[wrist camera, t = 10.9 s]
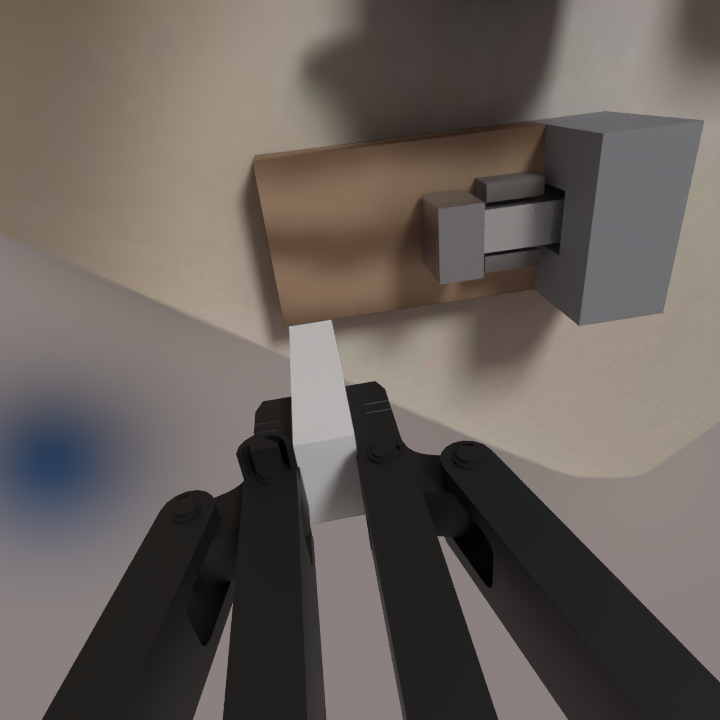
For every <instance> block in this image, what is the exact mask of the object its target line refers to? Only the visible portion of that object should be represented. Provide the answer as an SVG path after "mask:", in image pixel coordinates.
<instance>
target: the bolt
mask: <svg viewBox="0 0 720 720" xmlns="http://www.w3.org/2000/svg"><path fill="white" fill-rule="evenodd" d="M421 200H422V225H423V250H424V264H425V266H426V267H427V268H428V270H429V271H430V272H431V273H432V275H433V276H434V277H435V279H436V280H437V281H438V282H439V284H447V283H453V282H460V281H467V280H474V279H481V278H483V276H484V253H491V252H497V251H504V250H511V249H518V248H525V247H532V246H539V245H546V244H553V243H560V241H561V231H562V221H563V210H564V200H565V191H563V190H562V191H555V192H548V193H544V195H539V196H532V197H525V198H517V199H510V200H503V201H495V202H488V203H486V202H484V201H482V200H480V199H478V198H476V197H475V196H473V195H471V194H470V193H468V192H466V191H465V190H456V191H448V192H441V193H434V194H426V195H421Z"/></svg>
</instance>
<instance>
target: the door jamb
mask: <svg viewBox="0 0 720 720" xmlns="http://www.w3.org/2000/svg"><path fill="white" fill-rule="evenodd" d="M529 122H536V123H542V124H547V126H546V139H545V152H544V166H543V176H545V183H544V193H548V192H555V191H562V190H563V191H565V200H564V210H563V221H562V231H561V241H560V243H553V244H546V245H539V246H537V248H538V249H539V261H538V266H536V273H535V286H534V289H535V290H536V291H537V292H539V293H540V294H541V295H542V296H543V297H545V298H546V299H547V300H548V301H550V302H551V303H552V304H553V305H554V306H556V307H557V308H558V309H559V310H560V311H562V312H563V313H564V314H565V315H567V316H568V317H569V318H570V319H571V320H573V321H574V322H575V323H576V324H577V325H579V326H582V325H588V324H594V323H601V322H607V321H614V320H620V319H627V318H633V317H639V316H646V315H652V314H659V313H663V310H664V305H665V301H666V296H667V291H668V287H669V282H670V277H671V273H672V268H673V263H674V259H675V254H676V249H677V245H678V240H679V235H680V231H681V226H682V221H683V217H684V212H685V207H686V203H687V198H688V193H689V189H690V184H691V180H692V175H693V170H694V166H695V161H696V156H697V152H698V147H699V142H700V138H701V133H702V128H703V124H704V121H703V120H693V119H682V118H671V117H660V116H650V115H639V114H628V113H617V112H607V111H605V112H598V113H590V114H582V115H574V116H566V117H558V118H550V119H542V120H534V121H529Z"/></svg>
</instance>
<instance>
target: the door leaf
mask: <svg viewBox="0 0 720 720" xmlns="http://www.w3.org/2000/svg"><path fill="white" fill-rule="evenodd" d="M546 126H547V124H542V123H536V122H529V121H526V122H518V123H510V124H502V125H494V126H486V127H478V128H470V129H462V130H455V131H447V132H439V133H431V134H423V135H415V136H407V137H399V138H391V139H383V140H375V141H367V142H359V143H351V144H343V145H335V146H327V147H319V148H312V149H304V150H296V151H288V152H280V153H272V154H264V155H256V156H254V159H253V166H254V172H255V177H256V182H257V187H258V192H259V197H260V203H261V208H262V213H263V218H264V223H265V228H266V233H267V239H268V244H269V249H270V254H271V259H272V264H273V269H274V275H275V280H276V285H277V290H278V295H279V300H280V306H281V311H282V316H283V321H284V326H290V325H297V324H303V323H310V322H317V321H323V320H330V319H337V318H343V317H350V316H357V315H364V314H370V313H377V312H384V311H390V310H397V309H404V308H410V307H417V306H424V305H430V304H437V303H444V302H450V301H457V300H464V299H471V298H477V297H484V296H491V295H497V294H504V293H511V292H517V291H524V290H531V289H534V286H535V273H536V266H538V261H539V249H538V248H537V246H532V247H525V248H518V249H511V250H504V251H497V252H491V253H484V276H483V278H481V279H474V280H467V281H460V282H453V283H447V284H439V282H438V281H437V280H436V279H435V277H434V276H433V275H432V273H431V272H430V271H429V270H428V268H427V267H426V266H425V264H424V250H423V225H422V200H421V195H426V194H434V193H441V192H448V191H456V190H465V191H466V192H468V193H470V194H471V195H473V196H475V197H476V198H478V199H480V200H482V201H484V202H486V203H488V202H495V201H503V200H510V199H517V198H525V197H532V196H539V195H544V183H545V176H543V166H544V152H545V139H546Z"/></svg>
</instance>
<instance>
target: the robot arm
mask: <svg viewBox="0 0 720 720" xmlns="http://www.w3.org/2000/svg"><path fill="white" fill-rule="evenodd" d="M289 334H290V366H291V397H286V398H281V399H275V400H269V401H263V402H262V404H261V405H260V406H259V408H258V409H257V411H256V412H255V426H254V436H252V437H250V438H248V439H247V440H245V441H244V442H243V443H242V444H241V445H240V446H239V448H238V451H237V453H236V455H237V458H238V462H239V465H240V468H241V471H242V474H243V477H244V482H242V484H240V485H239V486H238V487H236V488H235V489H233V490H231V491H229V492H227V493H225V494H222V495H220V496H218V497H215V498H213V497H212V495H210V494H209V493H207V492H205V491H199V490H194V491H188V492H185V493H182V494H180V495H177V496H176V497H174V498H173V499H172V500H170V501H169V502H167V503H166V505H165V506H164V507H163V508H162V509H161V511H160V512H159V514H158V516H157V518H156V519H155V521H154V523H153V525H152V526H151V528H150V530H149V532H148V534H147V535H146V537H145V539H144V541H143V542H142V544H141V546H140V548H139V549H138V551H137V553H136V555H135V556H134V559H133V560H132V562H131V563H130V565H129V567H128V569H127V571H126V572H125V574H124V576H123V578H122V579H121V581H120V583H119V585H118V587H117V588H116V590H115V592H114V594H113V595H112V597H111V599H110V601H109V602H108V604H107V606H106V608H105V610H104V611H103V613H102V615H101V616H100V618H99V620H98V622H97V623H96V625H95V627H94V629H93V630H92V632H91V634H90V636H89V638H88V640H87V641H86V643H85V645H84V646H83V648H82V650H81V652H80V653H79V655H78V657H77V659H76V660H75V662H74V664H73V666H72V667H71V669H70V671H69V673H68V675H67V676H66V678H65V680H64V682H63V683H62V685H61V687H60V689H59V690H58V692H57V694H56V696H55V697H54V699H53V701H52V703H51V704H50V706H49V708H48V710H47V712H46V714H45V715H44V717H43V719H42V720H193V717H194V715H195V712H196V708H197V706H198V703H199V700H200V697H201V694H202V691H203V688H204V685H205V682H206V679H207V676H208V674H209V671H210V668H211V665H212V662H213V659H214V656H215V653H216V650H217V647H218V644H219V641H220V638H221V635H222V632H223V629H224V626H225V624H226V621H227V618H228V615H229V612H230V609H231V606H232V603H233V610H232V622H231V633H230V644H229V656H228V667H227V679H226V690H225V701H224V712H223V720H326V708H325V694H324V681H323V666H322V652H321V639H320V625H319V612H318V597H317V583H316V570H315V555H314V541H313V537H312V532H311V528H310V521H311V524H316V523H321V522H327V521H332V520H337V519H343V518H348V517H354V516H359V515H364V514H366V520H367V526H368V533H369V540H370V546H371V550H372V554H373V560H374V565H375V570H376V576H377V581H378V586H379V592H380V597H381V603H382V608H383V613H384V618H385V624H386V630H387V635H388V640H389V646H390V651H391V657H392V662H393V667H394V673H395V678H396V684H397V689H398V694H399V699H400V705H401V711H402V716H403V720H498V718H497V715H496V712H495V709H494V706H493V703H492V700H491V697H490V694H489V691H488V687H487V684H486V682H485V678H484V675H483V672H482V669H481V667H480V663H479V661H478V658H477V654H476V651H475V648H474V645H473V642H472V639H471V636H470V633H469V630H468V627H467V624H466V621H465V618H464V615H463V612H462V609H461V606H460V603H459V600H458V597H457V594H456V591H455V588H454V585H453V582H452V579H451V576H450V573H449V570H448V567H447V564H446V561H445V558H444V555H443V552H442V549H441V546H440V543H439V540H438V537H437V536H444V537H445V539H446V542H447V543H448V545H449V546H450V548H451V549H452V550H453V552H454V553H455V555H456V556H457V558H458V559H459V561H460V562H461V564H462V565H463V567H464V568H465V569H466V571H467V572H468V574H469V575H470V577H471V578H472V580H473V581H474V583H475V584H476V585H477V587H478V588H479V590H480V591H481V593H482V594H483V596H484V597H485V599H486V600H487V602H488V603H489V605H490V606H491V608H492V609H493V610H494V612H495V613H496V615H497V616H498V618H499V619H500V620H501V622H502V624H503V625H504V626H505V628H506V629H507V631H508V632H509V634H510V635H511V637H512V638H513V640H514V641H515V643H516V644H517V646H518V647H519V648H520V650H521V651H522V653H523V654H524V656H525V657H526V658H527V660H528V662H529V663H530V665H531V666H532V668H533V669H534V670H535V672H536V673H537V675H538V676H539V678H540V679H541V681H542V682H543V684H544V685H545V686H546V688H547V689H548V691H549V692H550V694H551V695H552V697H553V698H554V700H555V701H556V703H557V704H558V705H559V707H560V708H561V710H562V711H563V712H564V714H565V716H566V717H567V719H568V720H720V682H719V681H718V680H717V679H716V678H715V677H714V676H713V675H712V674H711V673H710V672H709V671H708V670H707V669H706V668H705V667H704V666H703V665H702V664H701V663H700V662H699V661H698V660H697V659H696V658H695V657H694V656H693V655H692V654H691V653H690V652H689V651H688V650H687V649H686V648H685V647H684V645H683V644H682V643H681V642H679V641H678V639H677V638H676V637H675V636H673V634H672V633H671V632H670V631H669V630H668V629H667V628H666V627H665V626H664V625H663V624H662V623H661V622H660V621H659V620H658V619H657V618H656V617H655V616H654V615H653V614H652V613H651V612H650V611H649V610H648V609H647V608H646V607H645V606H644V605H643V604H642V603H641V602H640V601H639V600H638V599H637V598H636V597H635V596H634V595H633V594H632V593H631V592H630V591H629V590H628V588H627V587H625V585H624V584H623V583H622V582H621V581H620V580H619V579H618V578H616V576H615V575H614V574H613V573H612V572H611V571H610V570H609V569H608V568H607V567H606V566H605V565H604V564H603V563H602V562H601V561H600V560H599V559H598V558H597V557H596V556H595V555H594V554H593V553H592V552H591V551H590V550H589V549H588V548H587V547H586V546H585V545H584V544H583V543H582V542H581V541H580V540H579V539H578V538H577V537H576V536H575V535H574V534H573V533H572V531H570V529H569V528H568V527H567V526H566V525H565V524H564V523H563V522H562V521H561V520H560V519H558V517H557V516H556V515H555V514H554V513H553V512H552V511H551V510H550V509H549V508H548V507H547V506H546V505H545V504H544V503H543V502H542V501H541V500H540V499H539V498H538V497H537V496H536V495H535V494H534V493H533V492H532V491H531V490H530V489H529V488H528V487H527V486H526V485H525V484H524V483H523V482H522V481H521V480H520V479H519V478H518V477H517V476H516V475H515V473H513V471H512V470H511V469H510V468H509V467H508V466H507V465H506V464H505V463H504V462H503V461H502V460H501V459H500V458H499V457H498V456H497V455H496V454H495V453H494V452H493V451H492V450H491V449H489V448H488V447H486V446H485V445H484V444H481V443H478V442H474V441H460V442H455V443H452V444H451V445H449V446H447V447H446V448H445V449H444V450H443V451H442V453H441V455H427V454H421V453H417V452H415V451H413V450H411V449H409V448H408V447H407V446H406V445H405V443H403V441H402V440H401V437H400V434H399V431H398V428H397V425H396V422H395V419H394V415H393V413H392V410H391V406H390V403H389V401H388V397H387V394H386V391H385V389H384V388H383V387H382V386H381V385H379V384H378V383H377V382H376V381H374V382H368V383H362V384H356V385H350V386H345V385H344V380H343V375H342V370H341V365H340V360H339V355H338V350H337V345H336V340H335V335H334V330H333V325H332V321H331V320H327V321H321V322H315V323H309V324H302V325H296V326H290V327H289Z"/></svg>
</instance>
